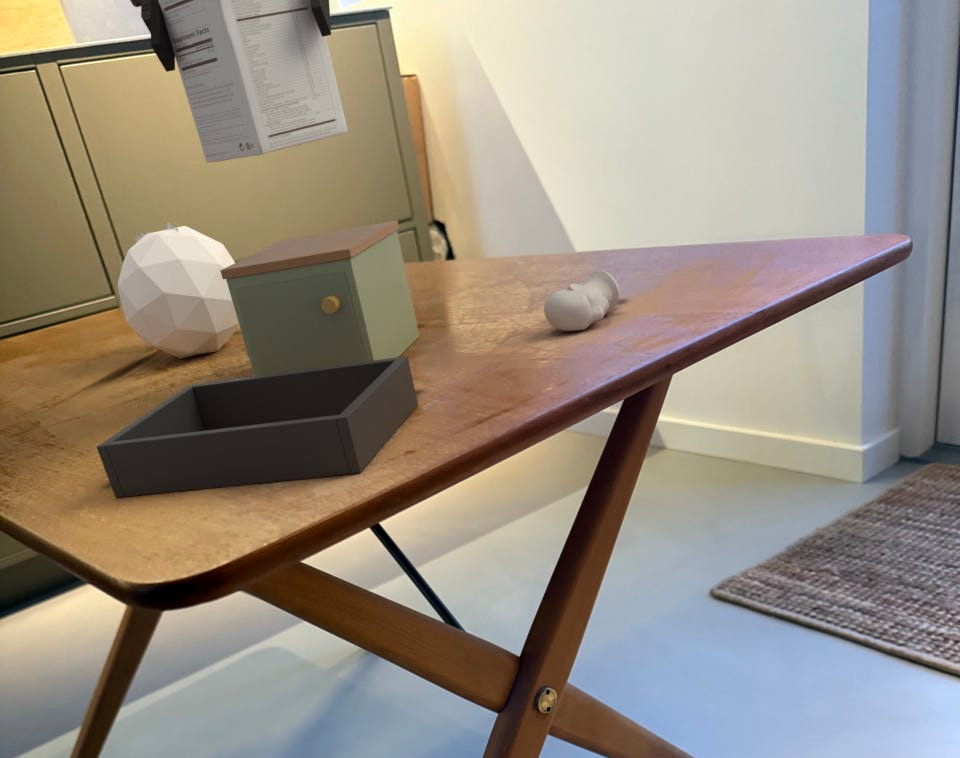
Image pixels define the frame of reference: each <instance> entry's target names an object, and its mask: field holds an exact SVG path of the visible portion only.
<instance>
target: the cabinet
mask: <svg viewBox="0 0 960 758" xmlns="http://www.w3.org/2000/svg"><path fill="white" fill-rule="evenodd" d="M399 229H400V225H399V220H397V219H395V220H389V221H384V222H378V223H372V224H366V225H361V226H355V227H349V228H343V229H339V230H338V229H337V230H333V231H326V232H321V233H315V234H309V235H303V236H298V237H293V238H287V239H282V240H279V241H277V242H275V243H274V244H271V245H269V246H268V247H265V248H263V249H260V250H259V251H256V252H255V253H252V254H251V255H249V256H247V257H245V258H243V259H241V260H238V261H236V262H235V263H234V264H232V265H230V266H228V267H226V268H224V269H222V270H221V275H222V278H223V279H226V281H227V284H228V288H229V291H230V295H231V298H232V301H233V305H234V308H235V312H236V315H237V318H238V322H239V328H240V332H241V335H242V339H243V342H244V345H245V349H246V352H247V355H248V359H249V362H250V367H251V369H252V373H253V377H254V376H262V375H269V374H277V373H284V372H291V371H299V370H306V369H314V368H321V367H329V366H336V365H344V364H351V363H359V362H366V361H374V360H381V359H389V358H396V357H401V355H402V354H403V353H405V352H406V351H407V349H409V347H411V346H412V344H413V343H415V342H416V341H417V340H418V339H419V338H420V333H419V327H418V323H417V318H416V314H415V309H414V308H415V307H414V305H413V300H412V294H411V290H410V285H409V280H408V275H407V271H406V267H405V261H404V256H403V252H402V251H403V250H402V247H401V242H400V237H399V233H398V230H399Z"/></svg>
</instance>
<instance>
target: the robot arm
mask: <svg viewBox="0 0 960 758" xmlns="http://www.w3.org/2000/svg"><path fill="white" fill-rule="evenodd" d="M129 1H130V3H131V4H132V6H133V7H135V8H140V17H141V19H142V22H143V23H144V25H145V26H146V28H147V30H148V31H149V33H150V46H151V48H152V50H153V52H154V53H155V55H156V57H157V59H158V61H159V62H160V63H161V66H162V67H163V68H164V71H165V72H167V73H168V72H173V71H175V70H176V58H175V55H174V52H173V48H172V45H171V41H170V38H169V35H168V31H167V28H166V25H165V21H164V18H163V14H162V11H161V8H160V4H159V1H158V0H129ZM311 9H312V12H313V14H314V17H315V20H316V22H317V25H318V27H319V30H320V32H321V35H322V37H324V36H326V37H329V36H332V27H331V26H332V25H331V10H330V0H311Z"/></svg>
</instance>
